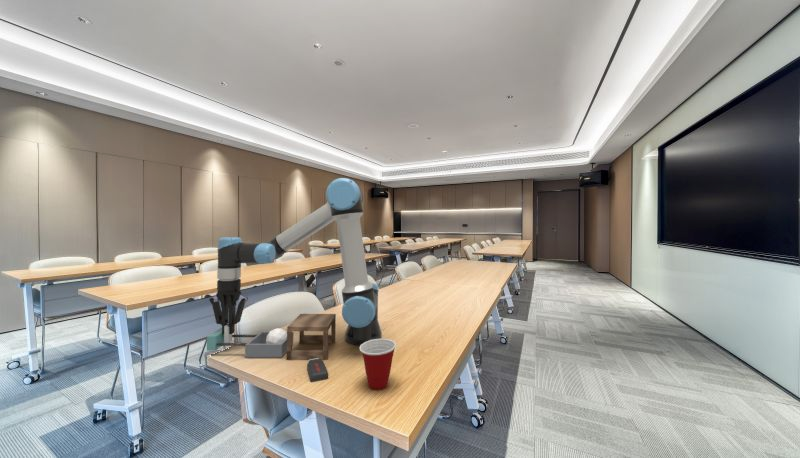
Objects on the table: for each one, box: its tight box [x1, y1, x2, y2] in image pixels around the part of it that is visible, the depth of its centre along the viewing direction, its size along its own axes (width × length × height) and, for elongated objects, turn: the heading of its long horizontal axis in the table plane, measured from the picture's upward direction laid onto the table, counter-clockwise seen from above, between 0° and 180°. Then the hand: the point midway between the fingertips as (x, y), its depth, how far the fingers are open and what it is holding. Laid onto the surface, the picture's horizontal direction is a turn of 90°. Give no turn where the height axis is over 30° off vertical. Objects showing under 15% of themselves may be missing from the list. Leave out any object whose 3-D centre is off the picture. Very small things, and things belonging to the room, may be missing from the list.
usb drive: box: [306, 358, 329, 383], centre depth 92 cm, size 5×12×3 cm, turn 25°
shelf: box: [286, 313, 337, 361], centre depth 107 cm, size 14×15×12 cm
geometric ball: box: [266, 327, 287, 344], centre depth 108 cm, size 8×8×8 cm
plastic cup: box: [359, 338, 397, 391], centre depth 85 cm, size 11×11×12 cm
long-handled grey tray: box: [206, 327, 295, 358], centre depth 106 cm, size 27×13×7 cm, turn 93°
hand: (228, 342), depth 106 cm, fingers closed
